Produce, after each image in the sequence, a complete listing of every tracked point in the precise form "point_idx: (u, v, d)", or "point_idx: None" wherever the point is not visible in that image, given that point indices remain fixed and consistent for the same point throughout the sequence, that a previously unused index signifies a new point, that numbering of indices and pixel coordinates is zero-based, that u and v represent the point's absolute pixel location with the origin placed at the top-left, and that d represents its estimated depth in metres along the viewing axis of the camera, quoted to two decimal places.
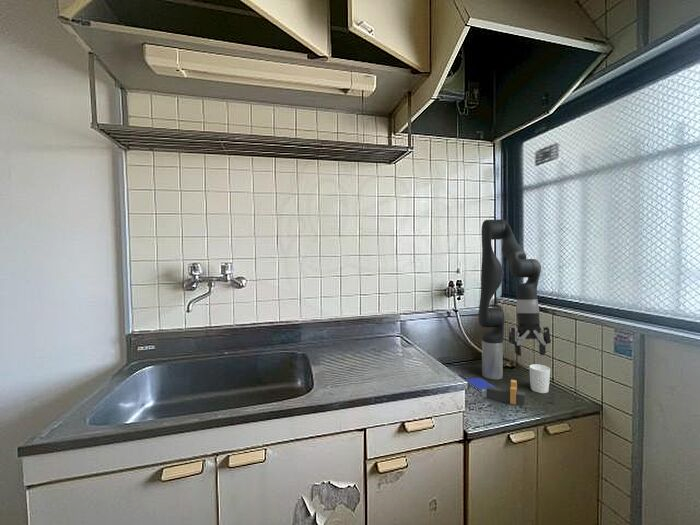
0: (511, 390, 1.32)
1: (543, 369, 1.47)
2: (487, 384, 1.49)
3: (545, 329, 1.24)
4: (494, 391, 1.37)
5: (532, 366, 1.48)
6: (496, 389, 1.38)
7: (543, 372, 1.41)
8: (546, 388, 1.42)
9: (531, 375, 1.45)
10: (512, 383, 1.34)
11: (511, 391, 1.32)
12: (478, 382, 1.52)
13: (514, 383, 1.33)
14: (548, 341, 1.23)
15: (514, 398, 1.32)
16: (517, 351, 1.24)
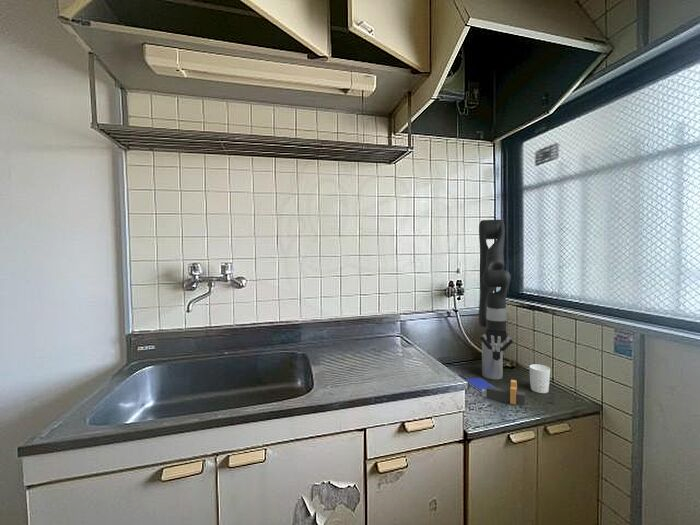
0: (511, 390, 1.32)
1: (543, 369, 1.47)
2: (487, 384, 1.49)
3: (509, 340, 1.34)
4: (494, 391, 1.37)
5: (532, 366, 1.48)
6: (496, 389, 1.38)
7: (543, 372, 1.41)
8: (546, 388, 1.42)
9: (531, 375, 1.45)
10: (512, 383, 1.34)
11: (511, 391, 1.32)
12: (478, 382, 1.52)
13: (514, 383, 1.33)
14: (502, 349, 1.35)
15: (514, 398, 1.32)
16: (493, 356, 1.37)
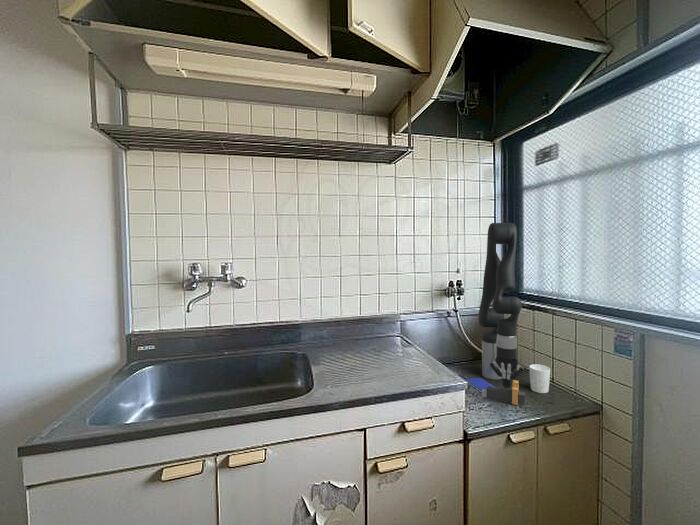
0: (513, 390, 1.32)
1: (543, 369, 1.47)
2: (487, 384, 1.49)
3: (520, 368, 1.32)
4: (494, 391, 1.37)
5: (532, 366, 1.48)
6: (496, 389, 1.38)
7: (543, 372, 1.41)
8: (546, 388, 1.42)
9: (531, 375, 1.45)
10: (514, 383, 1.33)
11: (513, 391, 1.32)
12: (478, 382, 1.52)
13: (516, 383, 1.33)
14: (512, 376, 1.33)
15: (516, 398, 1.31)
16: (503, 383, 1.36)
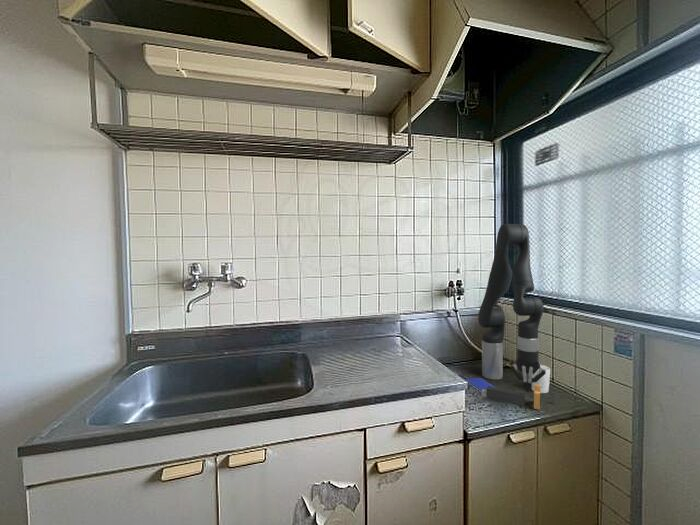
0: (535, 394, 1.28)
1: None
2: (487, 384, 1.49)
3: (542, 371, 1.28)
4: (494, 391, 1.37)
5: None
6: (496, 389, 1.38)
7: None
8: (546, 388, 1.42)
9: None
10: (536, 387, 1.30)
11: (535, 395, 1.28)
12: (478, 382, 1.52)
13: (538, 387, 1.29)
14: (534, 380, 1.30)
15: (538, 403, 1.28)
16: (524, 387, 1.32)
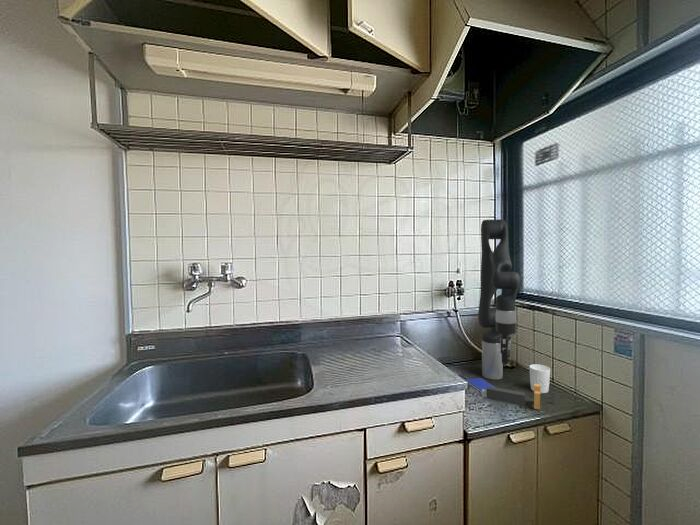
0: (535, 394, 1.28)
1: (543, 369, 1.47)
2: (487, 384, 1.49)
3: None
4: (494, 391, 1.37)
5: (532, 366, 1.48)
6: (496, 389, 1.38)
7: (543, 372, 1.41)
8: (546, 388, 1.42)
9: (531, 375, 1.44)
10: (536, 387, 1.30)
11: (535, 395, 1.28)
12: (478, 382, 1.52)
13: (538, 387, 1.29)
14: None
15: (538, 403, 1.28)
16: None
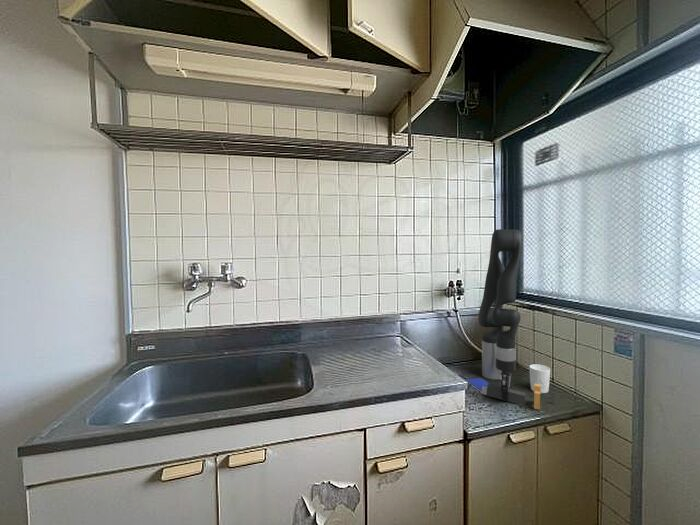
0: (535, 394, 1.28)
1: (543, 369, 1.47)
2: None
3: None
4: (494, 389, 1.37)
5: (532, 366, 1.48)
6: (497, 387, 1.37)
7: (543, 372, 1.41)
8: (546, 388, 1.42)
9: (531, 375, 1.45)
10: (536, 387, 1.30)
11: (535, 395, 1.28)
12: (478, 382, 1.52)
13: (538, 387, 1.29)
14: None
15: (538, 403, 1.28)
16: None
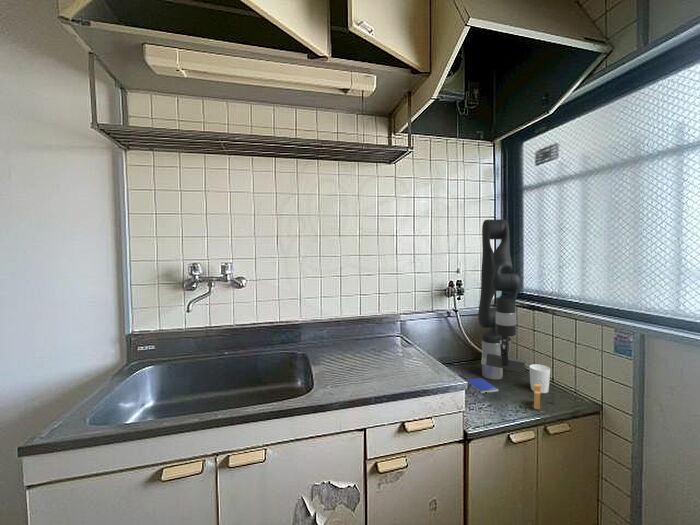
0: (535, 394, 1.28)
1: (543, 369, 1.47)
2: (488, 385, 1.49)
3: None
4: (494, 358, 1.36)
5: (532, 366, 1.48)
6: (496, 356, 1.37)
7: (543, 372, 1.41)
8: (546, 388, 1.42)
9: (531, 375, 1.45)
10: (536, 387, 1.30)
11: (535, 395, 1.28)
12: (478, 382, 1.52)
13: (538, 387, 1.29)
14: None
15: (538, 403, 1.28)
16: None
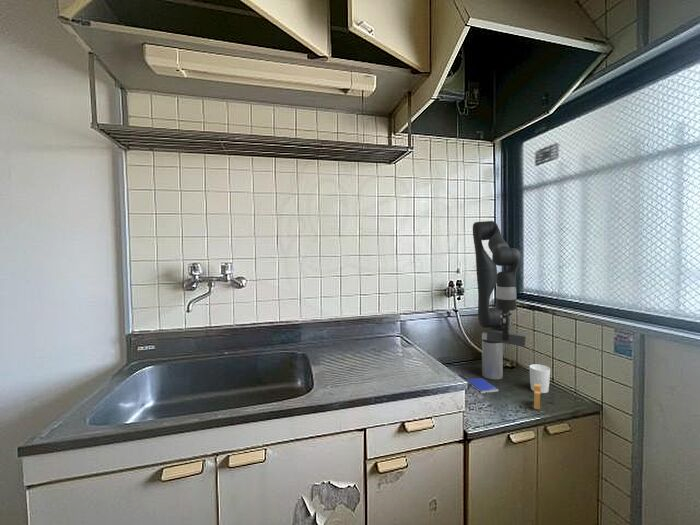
0: (535, 394, 1.28)
1: (543, 369, 1.47)
2: (488, 385, 1.49)
3: None
4: (494, 333, 1.37)
5: (532, 366, 1.48)
6: (497, 331, 1.37)
7: (543, 372, 1.41)
8: (546, 388, 1.42)
9: (531, 375, 1.45)
10: (536, 387, 1.30)
11: (535, 395, 1.28)
12: (479, 382, 1.51)
13: (538, 387, 1.29)
14: None
15: (538, 403, 1.28)
16: None
